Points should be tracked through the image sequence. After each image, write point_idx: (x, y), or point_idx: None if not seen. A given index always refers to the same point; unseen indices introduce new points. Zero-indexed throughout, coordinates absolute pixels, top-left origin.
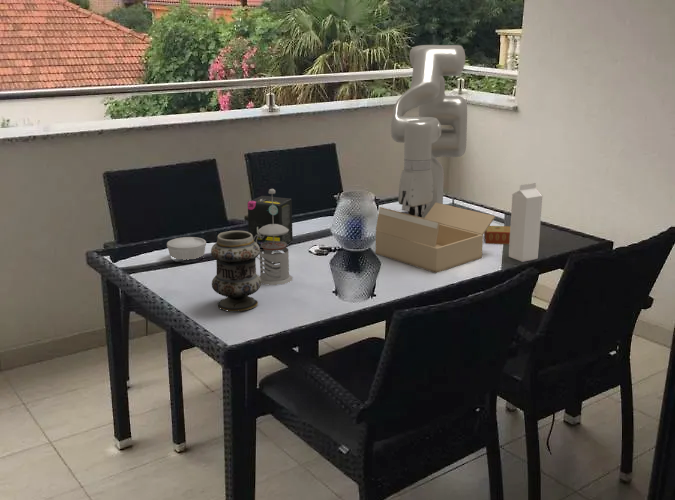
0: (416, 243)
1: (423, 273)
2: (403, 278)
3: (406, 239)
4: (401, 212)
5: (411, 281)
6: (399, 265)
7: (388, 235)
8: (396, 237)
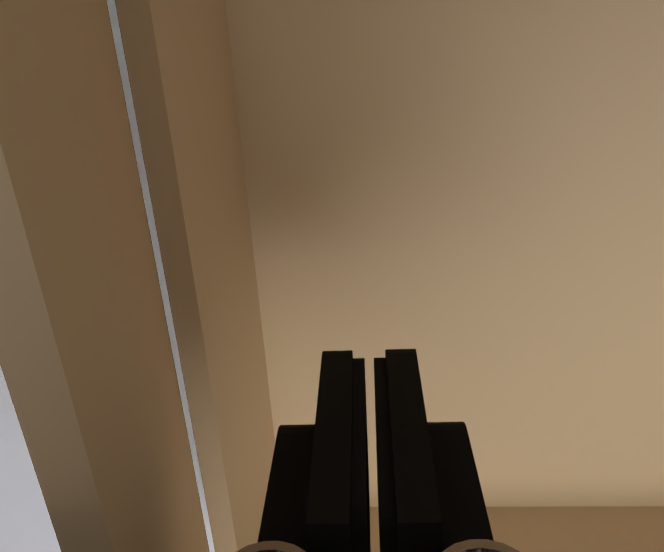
0: (207, 488)
1: (195, 465)
2: (15, 449)
3: (195, 349)
4: (68, 472)
5: (31, 509)
6: (158, 242)
7: (122, 12)
8: (151, 191)
